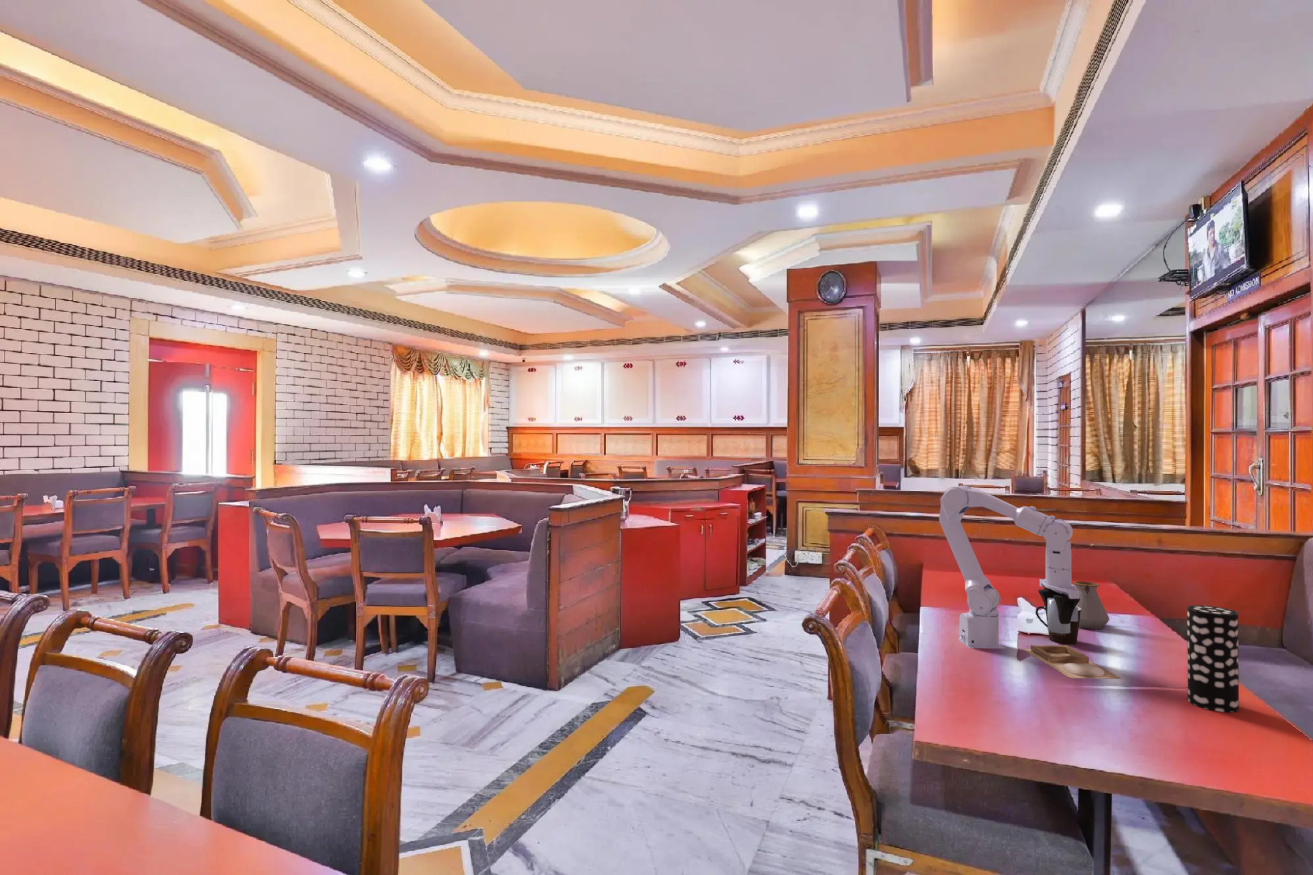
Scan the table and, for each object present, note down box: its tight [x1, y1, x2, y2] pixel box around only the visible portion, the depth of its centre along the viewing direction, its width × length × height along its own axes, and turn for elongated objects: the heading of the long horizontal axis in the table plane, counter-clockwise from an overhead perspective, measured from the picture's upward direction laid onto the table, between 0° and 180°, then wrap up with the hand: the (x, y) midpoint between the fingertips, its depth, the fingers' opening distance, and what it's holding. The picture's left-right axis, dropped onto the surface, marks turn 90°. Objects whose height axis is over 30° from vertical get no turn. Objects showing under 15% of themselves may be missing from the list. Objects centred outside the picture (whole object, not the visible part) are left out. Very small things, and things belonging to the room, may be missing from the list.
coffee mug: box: [1035, 605, 1081, 646], centre depth 187 cm, size 12×9×10 cm
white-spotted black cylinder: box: [1186, 604, 1240, 713], centre depth 142 cm, size 8×8×20 cm
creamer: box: [1047, 597, 1078, 634], centre depth 171 cm, size 7×5×8 cm
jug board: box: [1022, 644, 1123, 680], centre depth 167 cm, size 12×22×2 cm, turn 178°
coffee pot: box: [1072, 580, 1110, 630], centre depth 199 cm, size 21×12×15 cm, turn 148°
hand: (1058, 620), depth 171 cm, fingers closed on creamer, 5 cm apart
